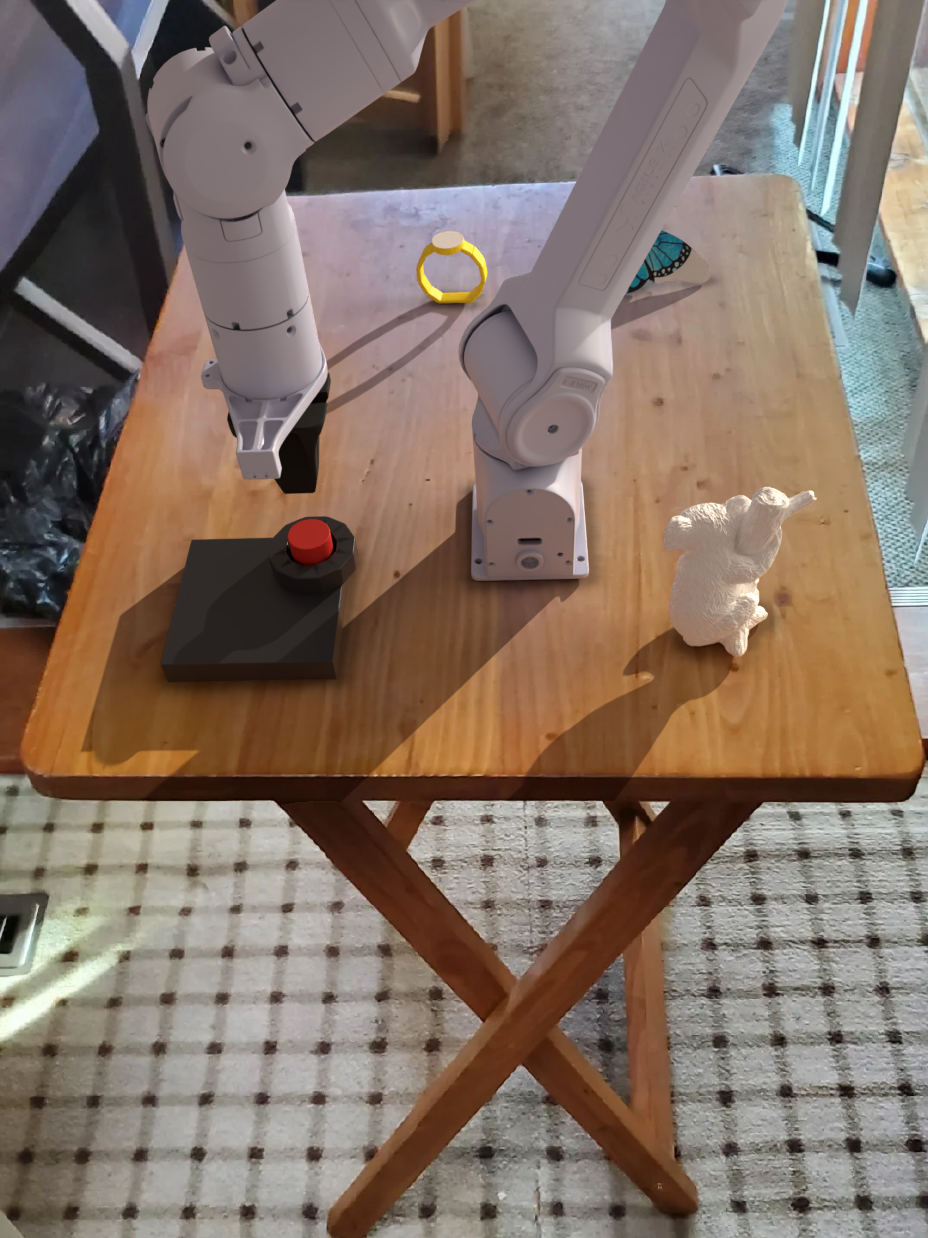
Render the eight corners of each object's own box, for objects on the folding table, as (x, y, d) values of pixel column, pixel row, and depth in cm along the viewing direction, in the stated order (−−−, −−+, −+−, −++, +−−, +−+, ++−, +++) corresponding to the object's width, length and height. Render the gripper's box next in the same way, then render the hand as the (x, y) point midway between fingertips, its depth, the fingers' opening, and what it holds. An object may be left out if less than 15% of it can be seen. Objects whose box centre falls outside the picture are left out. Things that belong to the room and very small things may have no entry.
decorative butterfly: (549, 213, 96) (650, 162, 96) (565, 271, 101) (660, 222, 101) (598, 271, 90) (705, 216, 90) (612, 329, 95) (713, 277, 95)
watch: (489, 292, 96) (487, 231, 91) (485, 311, 94) (482, 249, 89) (423, 290, 96) (417, 229, 92) (417, 308, 95) (411, 247, 90)
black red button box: (350, 679, 69) (342, 645, 66) (168, 682, 70) (153, 649, 67) (363, 550, 76) (357, 515, 73) (198, 554, 77) (186, 519, 74)
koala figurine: (776, 590, 72) (810, 454, 62) (790, 671, 67) (830, 537, 58) (647, 590, 72) (663, 455, 63) (654, 670, 68) (671, 538, 59)
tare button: (331, 565, 71) (327, 548, 70) (289, 566, 71) (285, 549, 70) (335, 534, 73) (331, 518, 72) (294, 535, 73) (290, 519, 72)
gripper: (205, 229, 62) (253, 413, 73) (155, 388, 53) (219, 573, 63) (326, 224, 62) (357, 409, 72) (297, 382, 53) (338, 569, 63)
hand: (300, 486), depth 68 cm, fingers closed
